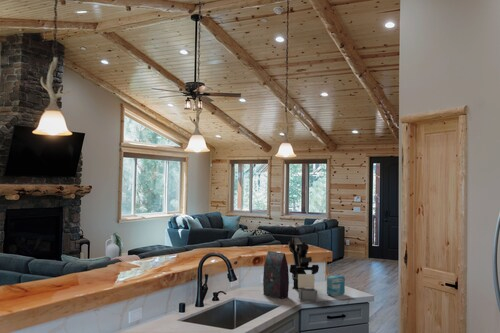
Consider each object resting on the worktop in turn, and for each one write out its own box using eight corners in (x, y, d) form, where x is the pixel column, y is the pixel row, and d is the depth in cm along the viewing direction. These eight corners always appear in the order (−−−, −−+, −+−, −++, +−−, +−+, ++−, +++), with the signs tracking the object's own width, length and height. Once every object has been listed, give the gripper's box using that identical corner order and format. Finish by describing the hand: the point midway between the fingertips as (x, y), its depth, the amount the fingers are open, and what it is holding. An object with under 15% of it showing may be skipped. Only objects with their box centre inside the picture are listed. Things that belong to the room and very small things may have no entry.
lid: (298, 287, 284) (297, 287, 285) (314, 287, 284) (314, 287, 286) (298, 274, 285) (297, 274, 286) (314, 274, 286) (313, 274, 287)
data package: (331, 296, 289) (331, 277, 289) (326, 295, 292) (326, 276, 293) (344, 294, 295) (344, 276, 296) (339, 293, 299) (339, 274, 300)
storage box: (298, 297, 283) (298, 288, 284) (314, 297, 284) (314, 288, 284) (300, 301, 275) (301, 291, 276) (316, 301, 276) (316, 291, 276)
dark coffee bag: (271, 292, 297) (272, 250, 298) (289, 297, 284) (289, 253, 286) (262, 294, 291) (263, 251, 293) (280, 299, 279) (280, 254, 280)
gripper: (290, 252, 292) (293, 272, 280) (318, 252, 293) (322, 272, 281) (288, 262, 299) (290, 282, 287) (315, 262, 301) (319, 282, 289)
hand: (305, 279), depth 286 cm, fingers open, 9 cm apart
